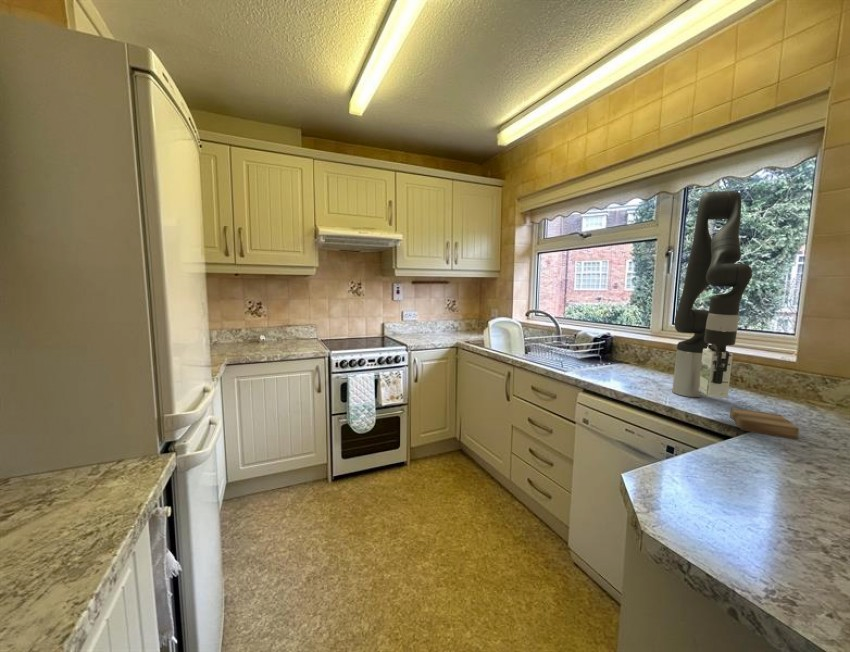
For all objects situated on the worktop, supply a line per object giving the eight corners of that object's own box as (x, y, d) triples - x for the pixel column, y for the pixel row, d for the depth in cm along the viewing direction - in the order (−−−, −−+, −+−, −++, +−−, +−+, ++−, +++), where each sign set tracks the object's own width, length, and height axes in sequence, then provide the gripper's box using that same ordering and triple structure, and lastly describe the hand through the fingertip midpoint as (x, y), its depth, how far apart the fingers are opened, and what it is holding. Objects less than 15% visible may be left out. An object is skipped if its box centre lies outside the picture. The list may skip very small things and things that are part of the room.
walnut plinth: (729, 416, 115) (730, 407, 115) (779, 424, 110) (780, 414, 109) (741, 430, 105) (743, 420, 104) (797, 438, 99) (798, 428, 99)
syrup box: (728, 398, 110) (734, 352, 108) (706, 396, 111) (712, 351, 109) (717, 392, 115) (723, 348, 113) (696, 391, 116) (702, 347, 114)
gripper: (701, 324, 118) (694, 373, 120) (711, 330, 105) (704, 384, 108) (729, 326, 115) (723, 376, 117) (744, 332, 102) (736, 388, 104)
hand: (714, 380), depth 112 cm, fingers closed on syrup box, 6 cm apart
